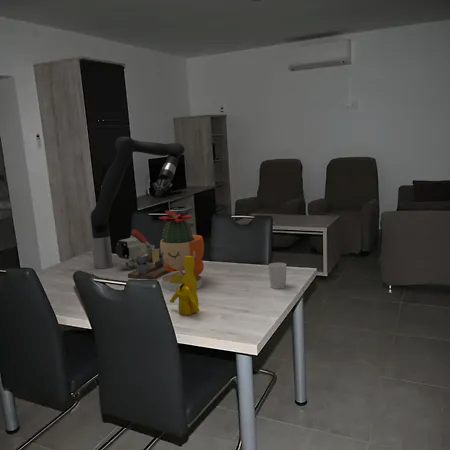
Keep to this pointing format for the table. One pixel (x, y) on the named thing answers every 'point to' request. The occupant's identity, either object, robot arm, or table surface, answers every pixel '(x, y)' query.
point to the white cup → (277, 275)
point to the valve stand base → (150, 273)
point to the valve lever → (140, 237)
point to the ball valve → (130, 250)
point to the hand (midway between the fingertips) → (157, 196)
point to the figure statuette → (187, 290)
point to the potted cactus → (180, 250)
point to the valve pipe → (149, 259)
